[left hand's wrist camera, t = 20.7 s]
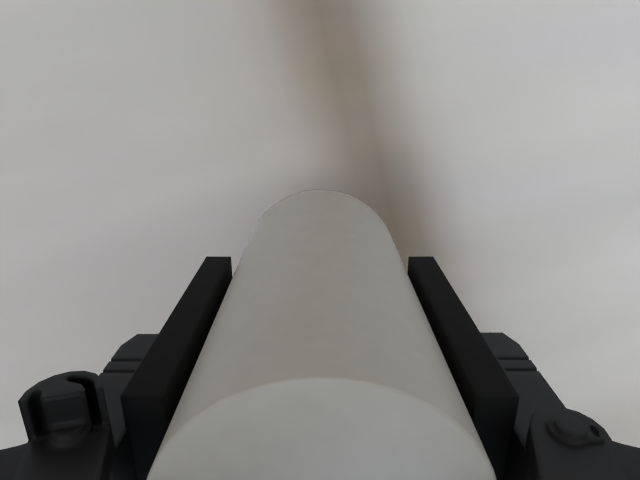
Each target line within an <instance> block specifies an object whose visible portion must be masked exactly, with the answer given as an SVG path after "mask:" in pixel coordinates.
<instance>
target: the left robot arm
mask: <svg viewBox="0 0 640 480" xmlns="http://www.w3.org/2000/svg"><path fill="white" fill-rule="evenodd" d="M408 276H409V279H410V281H411V283H412V285H413V288H414V290H415V292H416V295H417V297H418V299H419V301H420V304H421V306H422V308H423V310H424V313H425V315H426V317H427V320H428V322H429V324H430V326H431V329H432V331H433V333H434V335H435V338H436V340H437V342H438V345H439V347H440V349H441V351H442V354H443V356H444V358H445V360H446V363H447V365H448V367H449V370H450V372H451V374H452V376H453V379H454V381H455V383H456V385H457V388H458V390H459V392H460V395H461V397H462V399H463V401H464V404H465V406H466V408H467V410H468V413H469V415H470V417H471V420H472V422H473V424H474V426H475V429H476V431H477V433H478V435H479V438H480V440H481V442H482V445H483V447H484V449H485V451H486V454H487V456H488V458H489V460H490V463H491V465H492V467H493V469H494V473H495V476H496V479H497V480H640V448H637V447H633V446H628V445H624V444H620V443H617V442H614V441H612V440H611V438H610V437H609V435H608V434H607V432H606V431H605V429H604V428H603V427H601V426H600V425H599V424H598V423H596V422H595V421H594V420H593V419H591V418H589V417H587V416H585V415H583V414H581V413H579V412H577V411H573V410H570V409H566V408H565V406H564V405H563V403H562V402H561V401H560V399H559V398H558V397H557V395H556V394H555V393H554V391H553V390H552V389H551V387H550V386H549V384H548V383H547V382H546V380H545V379H544V378H543V376H542V375H541V374H540V372H539V371H537V368H536V367H535V365H534V364H533V363H532V361H531V360H529V357H528V356H527V355H526V353H525V352H524V350H523V349H522V348H521V346H520V345H519V344H518V343H517V342H515V341H514V340H512V339H511V338H509V337H508V336H506V335H505V334H503V333H480V332H479V330H478V329H477V327H476V325H475V324H474V322H473V320H472V319H471V317H470V316H469V314H468V312H467V311H466V309H465V308H464V306H463V304H462V303H461V301H460V299H459V298H458V296H457V295H456V293H455V291H454V290H453V288H452V286H451V285H450V283H449V282H448V280H447V278H446V277H445V275H444V274H443V272H442V270H441V269H440V267H439V265H438V264H437V262H436V261H435V259H434V257H409V262H408ZM231 280H232V266H231V257H206V258H205V260H204V262H203V263H202V265H201V267H200V268H199V270H198V271H197V273H196V275H195V276H194V278H193V279H192V281H191V283H190V284H189V286H188V288H187V289H186V291H185V292H184V294H183V296H182V297H181V299H180V301H179V302H178V304H177V305H176V307H175V309H174V310H173V312H172V313H171V315H170V317H169V318H168V320H167V322H166V323H165V325H164V326H163V328H162V330H161V331H160V333H159V334H137V335H136V336H134V337H133V338H131V339H130V340H128V341H127V342H126V343H124V344H123V345H121V346H120V348H119V349H118V351H117V352H116V353H115V355H114V356H113V357H112V359H111V362H109V363H108V364H107V366H106V367H105V368H104V370H103V373H101V374H100V375H99V376H98V375H96V374H95V373H91V372H87V371H73V372H66V373H62V374H58V375H54V376H52V377H50V378H47V379H45V380H43V381H41V382H39V383H37V384H36V385H34V386H33V387H31V388H30V389H29V390H27V391H26V392H25V393H24V394H23V396H22V397H21V398H20V399H19V401H18V404H19V407H20V411H21V414H22V418H23V422H24V425H25V429H26V432H27V436H28V439H29V440H28V443H26V444H23V445H19V446H16V447H12V448H7V449H3V450H0V480H147V476H148V474H149V472H150V469H151V467H152V465H153V462H154V460H155V458H156V455H157V453H158V451H159V448H160V446H161V444H162V441H163V439H164V437H165V434H166V432H167V430H168V427H169V425H170V423H171V420H172V418H173V416H174V413H175V411H176V409H177V406H178V404H179V402H180V399H181V397H182V395H183V392H184V390H185V388H186V385H187V383H188V381H189V378H190V376H191V374H192V371H193V369H194V367H195V364H196V362H197V360H198V357H199V355H200V353H201V350H202V348H203V346H204V343H205V341H206V339H207V336H208V334H209V332H210V329H211V327H212V325H213V322H214V320H215V318H216V315H217V313H218V311H219V308H220V306H221V304H222V301H223V299H224V297H225V294H226V292H227V290H228V287H229V285H230V283H231Z"/></svg>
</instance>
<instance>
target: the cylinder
mask: <svg viewBox="0 0 640 480" xmlns="http://www.w3.org/2000/svg"><path fill="white" fill-rule="evenodd" d="M147 480H497V479H496V476H495V473H494V469H493V467H492V465H491V463H490V460H489V458H488V456H487V454H486V451H485V449H484V447H483V445H482V442H481V440H480V438H479V435H478V433H477V431H476V429H475V426H474V424H473V422H472V420H471V417H470V415H469V413H468V410H467V408H466V406H465V404H464V401H463V399H462V397H461V395H460V392H459V390H458V388H457V385H456V383H455V381H454V379H453V376H452V374H451V372H450V370H449V367H448V365H447V363H446V360H445V358H444V356H443V354H442V351H441V349H440V347H439V345H438V342H437V340H436V338H435V335H434V333H433V331H432V329H431V326H430V324H429V322H428V320H427V317H426V315H425V313H424V310H423V308H422V306H421V304H420V301H419V299H418V297H417V295H416V292H415V290H414V288H413V285H412V283H411V281H410V279H409V276H408V274H407V272H406V270H405V267H404V265H403V263H402V260H401V258H400V256H399V254H398V251H397V249H396V247H395V245H394V242H393V240H392V238H391V235H390V233H389V231H388V229H387V227H386V225H385V224H384V222H383V221H382V219H381V218H380V217H379V216H378V215H377V214H376V212H375V211H374V210H372V209H371V208H370V207H369V206H368V205H367V204H365V203H363V202H362V201H360V200H359V199H357V198H355V197H352V196H350V195H348V194H344V193H341V192H337V191H331V190H310V191H304V192H300V193H297V194H294V195H291V196H288V197H286V198H285V199H283V200H281V201H279V202H278V203H276V204H275V205H273V206H272V207H271V208H270V209H269V210H268V211H266V212H265V213H264V215H263V216H262V217H261V218H260V219H259V221H258V222H257V224H256V226H255V227H254V229H253V231H252V234H251V236H250V238H249V240H248V243H247V245H246V247H245V250H244V252H243V254H242V257H241V259H240V261H239V264H238V266H237V268H236V271H235V273H234V276H233V278H232V280H231V283H230V285H229V287H228V290H227V292H226V294H225V297H224V299H223V301H222V304H221V306H220V308H219V311H218V313H217V315H216V318H215V320H214V322H213V325H212V327H211V329H210V332H209V334H208V336H207V339H206V341H205V343H204V346H203V348H202V350H201V353H200V355H199V357H198V360H197V362H196V364H195V367H194V369H193V371H192V374H191V376H190V378H189V381H188V383H187V385H186V388H185V390H184V392H183V395H182V397H181V399H180V402H179V404H178V406H177V409H176V411H175V413H174V416H173V418H172V420H171V423H170V425H169V427H168V430H167V432H166V434H165V437H164V439H163V441H162V444H161V446H160V448H159V451H158V453H157V455H156V458H155V460H154V462H153V465H152V467H151V469H150V472H149V474H148V476H147Z"/></svg>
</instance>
